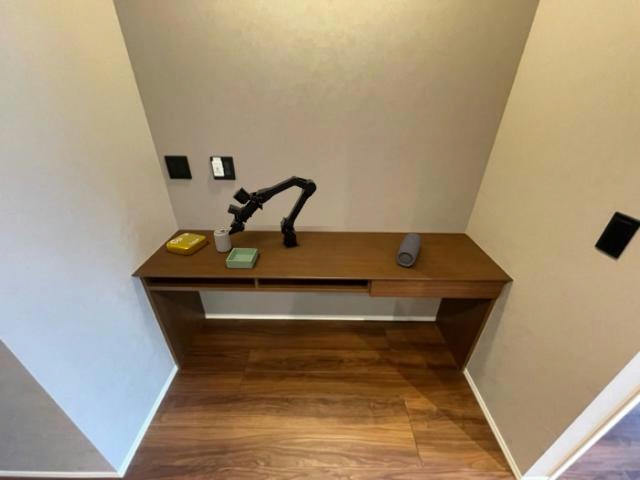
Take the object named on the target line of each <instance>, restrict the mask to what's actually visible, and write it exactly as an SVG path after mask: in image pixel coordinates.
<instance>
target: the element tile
mask: <svg viewBox="0 0 640 480" xmlns="http://www.w3.org/2000/svg"><path fill="white" fill-rule="evenodd" d="M207 244H208V241H207V237H206V236H205V235H201V234H196V233H191V232H184V233H182V234H180V235H178V236H177V237H175V238H174V239H172V240H170V241H168V242H166V248H167V251H168V252H170V253H175V254H180V255H183V256H190V255H193V254H195V252H197V251H199V250H200V249H202V248H203V247H204V246H206V245H207Z"/></svg>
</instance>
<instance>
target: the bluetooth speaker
mask: <svg viewBox="0 0 640 480" xmlns="http://www.w3.org/2000/svg"><path fill="white" fill-rule="evenodd" d="M421 239H422V238H421V236H420V235H419V234H418V233H417V232H408V233H407V234H406V235H405V236H404V238H403V240H402V242H401V244H400V246H399V249H398V251H397V254H396V261H397V263H398V264H399V265H401V266H403V267H411V266H412V265H414V263H415V262H416V259H417V257H418V254H419V252H420V249H421V244H422V240H421Z"/></svg>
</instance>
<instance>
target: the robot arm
mask: <svg viewBox="0 0 640 480" xmlns="http://www.w3.org/2000/svg"><path fill="white" fill-rule="evenodd" d="M293 187H298V188H299V189H301V190H300V195H298V198H297V200H296V201H295V203H294V205H293V207H292V209H291V210H290V212H289V214H288V215H287V216H286V217H285V216H283V217H282V220H281V221H280V222H279V224H280V232H281V233H282V235H283V237H282V244H283V245H284V246H285V248H287V249H289V248H292V247H297V246H299V244H298V241H297V234H296V229H295V226H294V224H295V222H296V219H297V218H298V216H299V214H301V212H302V209H303V208H304V206H305V204H306V202H307V201H308V199H309V198H311V197H312V196H313V195H314V194H315V193H316V191H317V189H318V187H317V184H316V183H315V181H314V180H313V179H312V178H304V177H299V176H296V175H292V176H291V177H289V178H287V179H285V180H283V181H281V182H278V183H276V184H274V185H272V186H270V187H264V188H260V189H258V190H256V191H251V192H248V191H247V190H246V189H245V188H244V187H240V188H239V189H237V190H236V191H235V192H234V194H233V195H232V198H233V199H234V200H235V201H237V202H238V203H239V204H240V205H243V206H241V207H240V206H238V205H235V204H232V203H230V204H229V206H228V209H227V213H228V214H231V215H233V216H234V218H233V219H232V221H231V223H230V225H229V227H230V230H228V231H229V233H228V235H229V236H232V235H234V234H237V233H243V232H244V231H245V229H246V224H247V223H248V220H249V219H251V218H252V217H253V215H254V214H255V213H256V212H257V211H258V209H259V210H261V211H263V209H264V204H266V203H267V202H269V201H270V200H271V199H272V198H273V197H275V196H276V195H279V194H280V193H282V192H285V191H287V190H289V189H291V188H293Z"/></svg>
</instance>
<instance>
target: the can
mask: <svg viewBox="0 0 640 480" xmlns="http://www.w3.org/2000/svg"><path fill="white" fill-rule="evenodd" d="M229 231H230V230H228V229H227V228H226V227H218V228H215V229H214V231H213V237H214V241H215V242H214V243H215V248H216V251H217V252H219V253H228V252H230V251H231V249H232V243H231V235H228V233H229Z"/></svg>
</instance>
